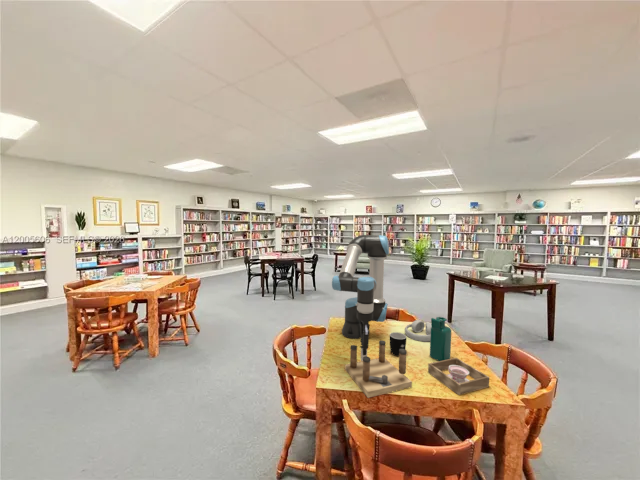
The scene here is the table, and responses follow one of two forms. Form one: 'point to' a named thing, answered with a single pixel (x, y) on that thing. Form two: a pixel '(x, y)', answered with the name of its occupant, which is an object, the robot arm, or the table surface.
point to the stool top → (376, 373)
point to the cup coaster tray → (458, 388)
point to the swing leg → (367, 372)
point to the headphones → (419, 330)
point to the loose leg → (402, 361)
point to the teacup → (458, 373)
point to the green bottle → (440, 339)
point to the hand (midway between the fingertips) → (363, 360)
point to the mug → (397, 342)
